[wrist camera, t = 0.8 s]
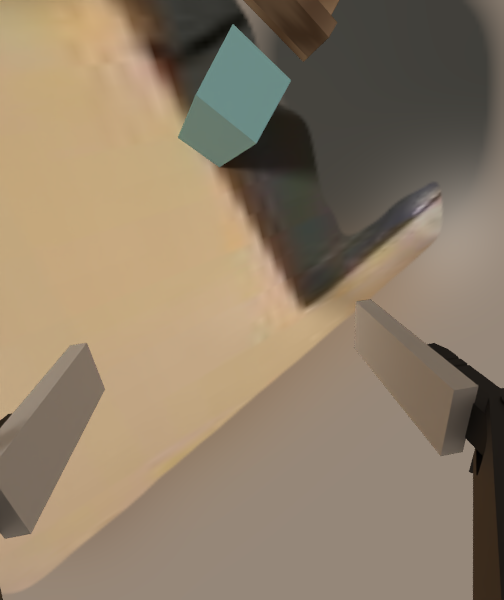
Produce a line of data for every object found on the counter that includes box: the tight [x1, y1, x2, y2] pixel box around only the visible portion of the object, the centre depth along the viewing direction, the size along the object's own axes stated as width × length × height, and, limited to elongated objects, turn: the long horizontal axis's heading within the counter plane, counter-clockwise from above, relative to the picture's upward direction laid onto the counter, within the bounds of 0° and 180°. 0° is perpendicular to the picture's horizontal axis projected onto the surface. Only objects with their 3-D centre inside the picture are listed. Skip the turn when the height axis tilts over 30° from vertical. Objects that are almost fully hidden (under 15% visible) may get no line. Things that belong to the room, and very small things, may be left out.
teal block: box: [178, 25, 291, 167], centre depth 26 cm, size 5×5×12 cm
